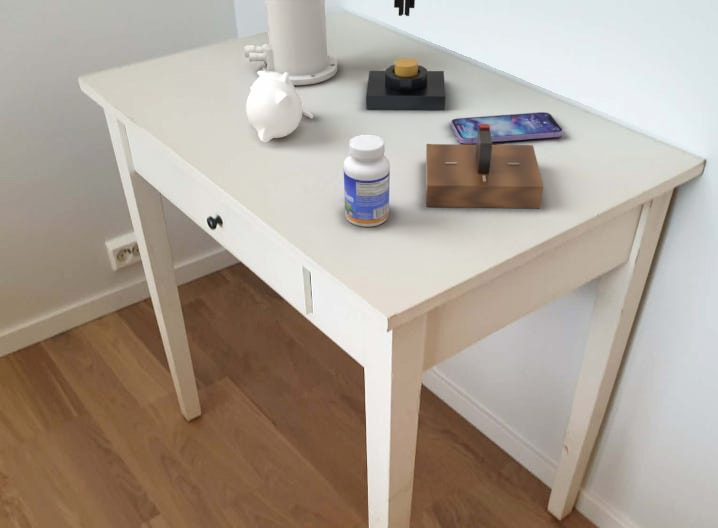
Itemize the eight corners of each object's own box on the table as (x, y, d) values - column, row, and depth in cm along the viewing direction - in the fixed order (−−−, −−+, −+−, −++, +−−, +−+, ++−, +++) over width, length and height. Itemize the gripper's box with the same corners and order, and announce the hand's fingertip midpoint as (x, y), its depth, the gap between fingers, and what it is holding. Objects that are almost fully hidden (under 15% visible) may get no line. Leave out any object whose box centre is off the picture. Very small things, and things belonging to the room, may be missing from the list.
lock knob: (489, 173, 90) (492, 141, 87) (477, 173, 90) (480, 141, 87) (486, 154, 94) (489, 123, 91) (475, 154, 94) (478, 123, 91)
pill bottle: (344, 206, 91) (340, 132, 84) (387, 203, 91) (387, 129, 84) (346, 229, 87) (343, 154, 80) (391, 227, 87) (392, 151, 80)
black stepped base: (366, 109, 112) (365, 83, 109) (369, 84, 119) (369, 59, 116) (444, 110, 111) (446, 84, 108) (443, 84, 118) (444, 59, 116)
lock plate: (426, 206, 90) (427, 184, 88) (425, 164, 98) (426, 142, 96) (540, 208, 90) (543, 185, 87) (530, 165, 98) (533, 143, 96)
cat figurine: (260, 49, 105) (263, 78, 96) (324, 84, 110) (333, 115, 101) (235, 102, 109) (235, 134, 100) (297, 133, 114) (303, 167, 105)
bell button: (394, 78, 111) (394, 66, 110) (394, 69, 114) (395, 57, 113) (417, 78, 111) (418, 66, 110) (417, 69, 114) (418, 58, 113)
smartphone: (449, 118, 107) (548, 111, 108) (449, 124, 107) (547, 117, 109) (461, 139, 101) (565, 131, 103) (460, 145, 102) (564, 138, 103)
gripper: (350, -132, 92) (351, 20, 105) (469, -130, 91) (455, 23, 104) (354, -143, 97) (355, 3, 110) (466, -141, 97) (454, 6, 110)
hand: (404, 12), depth 107 cm, fingers closed
